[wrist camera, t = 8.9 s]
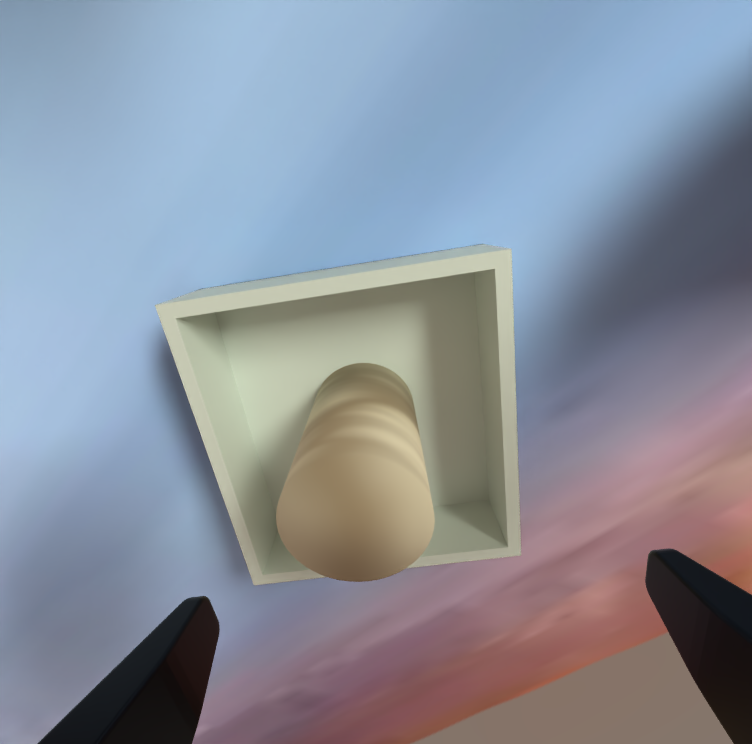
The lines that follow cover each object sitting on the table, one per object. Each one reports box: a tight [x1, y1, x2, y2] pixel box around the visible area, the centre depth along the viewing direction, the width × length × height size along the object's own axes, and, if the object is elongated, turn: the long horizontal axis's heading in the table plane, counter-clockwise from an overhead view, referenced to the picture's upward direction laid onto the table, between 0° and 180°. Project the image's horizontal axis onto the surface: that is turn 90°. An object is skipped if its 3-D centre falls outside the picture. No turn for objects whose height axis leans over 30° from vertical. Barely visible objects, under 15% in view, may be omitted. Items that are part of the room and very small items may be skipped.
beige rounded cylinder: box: [276, 363, 435, 582], centre depth 16 cm, size 5×5×8 cm
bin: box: [155, 244, 521, 585], centre depth 19 cm, size 13×14×4 cm
